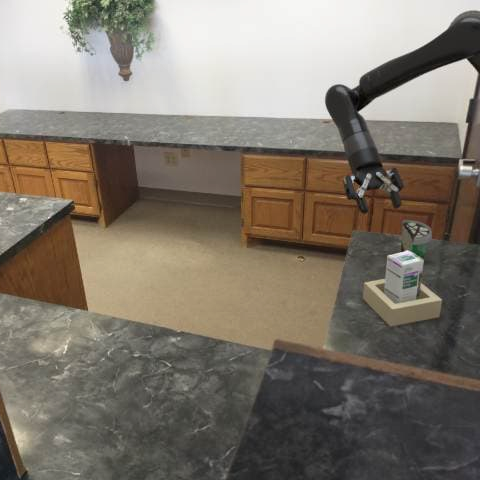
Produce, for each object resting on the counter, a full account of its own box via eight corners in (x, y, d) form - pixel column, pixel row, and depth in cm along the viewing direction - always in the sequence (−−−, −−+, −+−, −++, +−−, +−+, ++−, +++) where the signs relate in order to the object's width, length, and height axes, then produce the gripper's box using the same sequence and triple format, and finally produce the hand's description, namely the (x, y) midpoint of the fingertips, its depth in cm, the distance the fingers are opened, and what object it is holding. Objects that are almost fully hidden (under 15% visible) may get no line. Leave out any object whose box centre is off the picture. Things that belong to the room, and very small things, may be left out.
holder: (362, 298, 132) (364, 282, 129) (407, 290, 133) (410, 274, 131) (390, 326, 120) (392, 309, 118) (439, 317, 122) (442, 299, 119)
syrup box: (397, 316, 124) (404, 265, 117) (381, 304, 129) (387, 254, 122) (417, 311, 125) (425, 259, 118) (401, 299, 130) (407, 248, 123)
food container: (434, 270, 140) (439, 237, 136) (410, 270, 141) (414, 238, 137) (421, 249, 151) (425, 218, 147) (398, 249, 152) (402, 219, 148)
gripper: (341, 150, 128) (361, 208, 123) (394, 142, 130) (416, 199, 124) (330, 164, 135) (349, 220, 130) (380, 156, 137) (401, 211, 132)
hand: (382, 210), depth 127 cm, fingers open, 8 cm apart
